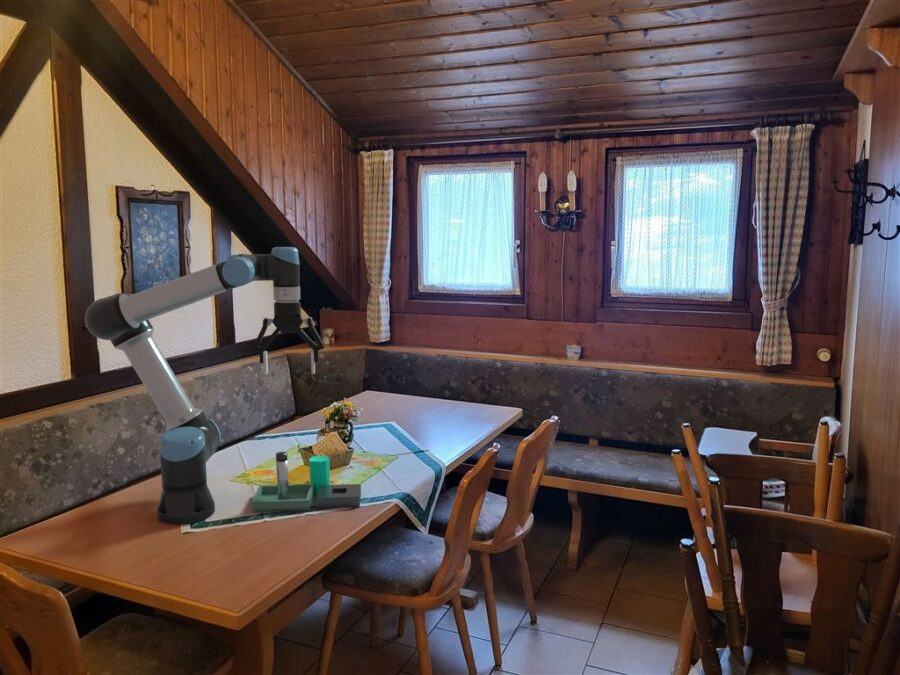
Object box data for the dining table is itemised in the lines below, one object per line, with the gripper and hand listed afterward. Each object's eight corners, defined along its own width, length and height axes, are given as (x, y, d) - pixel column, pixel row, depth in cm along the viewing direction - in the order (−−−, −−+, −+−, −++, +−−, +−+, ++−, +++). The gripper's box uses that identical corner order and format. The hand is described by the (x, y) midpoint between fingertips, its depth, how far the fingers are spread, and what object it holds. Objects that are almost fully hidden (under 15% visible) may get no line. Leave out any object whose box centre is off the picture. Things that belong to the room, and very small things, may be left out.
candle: (326, 495, 215) (325, 457, 213) (307, 494, 216) (305, 456, 214) (333, 488, 221) (331, 451, 219) (314, 487, 222) (313, 450, 220)
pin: (277, 502, 207) (275, 455, 205) (278, 497, 211) (276, 451, 208) (288, 501, 208) (286, 455, 205) (290, 497, 211) (288, 451, 209)
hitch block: (317, 508, 205) (317, 498, 205) (320, 494, 215) (320, 485, 215) (359, 506, 206) (359, 496, 206) (360, 493, 216) (360, 484, 216)
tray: (251, 512, 202) (251, 502, 202) (260, 494, 215) (259, 485, 214) (309, 510, 204) (309, 500, 203) (314, 493, 216) (313, 483, 216)
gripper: (240, 303, 202) (243, 377, 206) (330, 302, 204) (331, 375, 208) (245, 300, 210) (248, 371, 213) (332, 299, 212) (333, 370, 215)
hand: (289, 373), depth 210 cm, fingers open, 13 cm apart
